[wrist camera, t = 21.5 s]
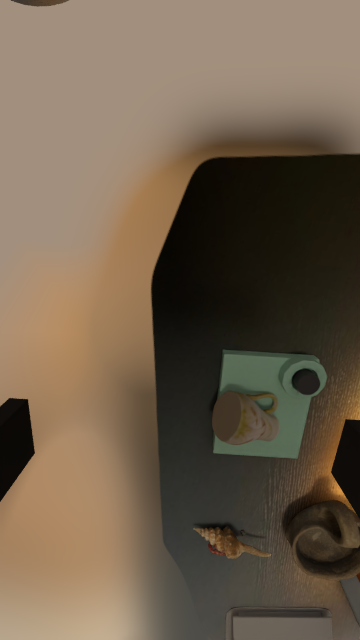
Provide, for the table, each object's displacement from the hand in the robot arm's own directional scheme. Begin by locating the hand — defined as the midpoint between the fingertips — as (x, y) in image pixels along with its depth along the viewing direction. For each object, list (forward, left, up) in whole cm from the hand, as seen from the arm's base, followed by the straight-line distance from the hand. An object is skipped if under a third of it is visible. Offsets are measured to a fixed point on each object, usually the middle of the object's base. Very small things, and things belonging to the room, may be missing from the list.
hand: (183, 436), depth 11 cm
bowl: (+39, +27, -29) cm, 56 cm away
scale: (+17, +13, -29) cm, 36 cm away
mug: (+17, +10, -27) cm, 34 cm away
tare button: (+10, +17, -26) cm, 33 cm away
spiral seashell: (+46, +11, -29) cm, 55 cm away
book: (+75, +25, -29) cm, 84 cm away
